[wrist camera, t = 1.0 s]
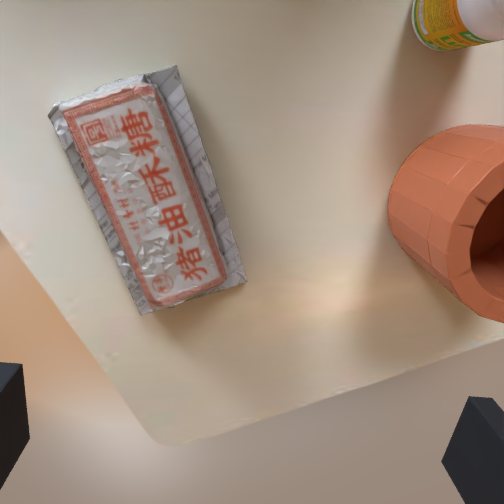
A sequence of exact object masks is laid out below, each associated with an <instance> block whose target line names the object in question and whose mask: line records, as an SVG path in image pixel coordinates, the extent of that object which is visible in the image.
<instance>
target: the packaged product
mask: <svg viewBox="0 0 504 504" xmlns="http://www.w3.org/2000/svg"><path fill="white" fill-rule="evenodd" d="M48 117H49V119H50V120H51V122H52V124H53V125H54V127H55V130H56V133H57V135H58V137H59V139H60V141H61V143H62V146H63V148H64V150H65V152H66V154H67V156H68V158H69V161H70V163H71V165H72V167H73V169H74V171H75V174H76V176H77V178H78V179H79V181H80V184H81V187H82V189H83V190H84V193H85V195H86V197H87V199H88V201H89V204H90V207H91V209H92V211H93V213H94V215H95V217H96V219H97V221H98V223H99V226H100V228H101V230H102V232H103V234H104V236H105V239H106V241H107V242H108V245H109V247H110V250H111V251H112V253H113V255H114V257H115V259H116V262H117V265H118V267H119V269H120V271H121V274H122V276H123V278H124V280H125V282H126V284H127V287H128V289H129V291H130V293H131V295H132V298H133V299H134V301H135V303H136V305H137V307H138V310H139V313H140V314H141V315H143V314H147V313H150V312H153V311H157V310H160V309H164V308H170V307H175V306H176V305H178V304H180V303H183V302H185V301H187V300H190V299H193V298H197V297H201V296H204V295H207V294H211V293H214V292H218V291H221V290H224V289H227V288H231V287H234V286H236V285H237V284H241V283H246V282H248V281H247V278H246V275H245V272H244V268H243V265H242V262H241V258H240V255H239V251H238V248H237V244H236V241H235V238H234V236H233V233H232V230H231V228H230V225H229V222H228V219H227V217H226V214H225V211H224V208H223V205H222V202H221V199H220V197H219V194H218V191H217V187H216V183H215V180H214V176H213V173H212V169H211V166H210V162H209V159H208V157H207V154H206V152H205V150H204V148H203V146H202V141H201V138H200V134H199V131H198V128H197V125H196V122H195V119H194V116H193V112H192V110H191V107H190V105H189V102H188V100H187V97H186V95H185V92H184V90H183V86H182V83H181V79H180V76H179V72H178V69H177V66H176V65H175V66H172V67H168V68H165V69H162V70H159V71H155V72H152V73H149V74H146V75H145V74H139V75H136V76H134V77H132V78H129V79H119V80H117V81H114V82H112V83H109V84H106V85H103V86H101V87H98V88H97V89H96V90H95V91H93V92H91V93H88V94H85V95H82V96H78V97H76V98H72V99H69V100H66V101H61V102H60V103H57V104H55V105H54V106H53V108H52V109H51V111H50V113H49V114H48Z"/></svg>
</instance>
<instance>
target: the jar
mask: <svg viewBox="0 0 504 504" xmlns="http://www.w3.org/2000/svg"><path fill="white" fill-rule="evenodd" d="M388 217H389V223H390V227H391V230H392V232H393V235H394V237H395V239H396V240H397V242H398V243H399V245H400V246H401V247H402V248H403V250H404V251H405V252H406V253H408V254H409V255H410V256H411V257H412V258H413V259H414V260H415V261H417V262H418V263H419V264H420V265H421V266H422V267H423V268H424V269H426V270H427V271H428V272H429V273H430V274H431V275H432V276H433V277H434V278H436V279H437V280H438V281H439V282H440V283H441V284H442V285H443V286H445V287H446V288H447V289H448V290H449V291H450V292H451V293H452V294H453V295H455V296H456V297H457V298H458V299H459V300H460V301H461V302H463V303H464V304H465V305H466V306H468V307H469V308H470V309H472V310H473V311H474V312H475V313H477V314H478V315H479V316H482V317H485V318H488V319H492V320H495V321H498V322H502V323H504V127H501V126H493V125H463V126H457V127H453V128H450V129H447V130H445V131H442V132H440V133H438V134H436V135H434V136H432V137H431V138H429V139H428V140H426V141H425V142H424V143H422V144H421V145H420V146H419V147H418V148H416V149H415V150H414V151H413V152H412V153H411V155H410V156H409V157H408V158H407V159H406V160H405V162H404V163H403V165H402V166H401V168H400V169H399V171H398V173H397V175H396V177H395V179H394V182H393V184H392V187H391V191H390V194H389V201H388Z"/></svg>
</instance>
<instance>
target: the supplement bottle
mask: <svg viewBox="0 0 504 504" xmlns="http://www.w3.org/2000/svg"><path fill="white" fill-rule="evenodd" d="M412 25H413V29H414V31H415V34H416V36H417V37H418V39H419V40H420V41H421V42H422V43H423V44H424V45H425V46H427V47H428V48H430V49H433V50H437V51H449V50H455V49H460V48H465V47H470V46H475V45H480V44H485V43H490V42H494V41H500V40H504V0H414V2H413V6H412Z"/></svg>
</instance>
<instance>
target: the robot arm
mask: <svg viewBox="0 0 504 504" xmlns="http://www.w3.org/2000/svg"><path fill="white" fill-rule="evenodd" d="M29 439H30V435H29V425H28V415H27V406H26V396H25V386H24V376H23V367H22V364H17V363H2V362H0V489H1V488H2V486H3V484H4V482H5V481H6V479H7V477H8V476H9V474H10V472H11V470H12V469H13V467H14V465H15V463H16V462H17V460H18V458H19V456H20V455H21V453H22V451H23V450H24V448H25V446H26V444H27V443H28V441H29ZM441 462H442V464H443V465H444V467H445V469H446V471H447V472H448V474H449V476H450V478H451V479H452V481H453V483H454V485H455V486H456V488H457V490H458V492H459V493H460V495H461V497H462V498H463V501H464V502H465V504H504V411H503V410H502V409H501V408H500V407H499V406H498V405H497V403H496V402H495V401H494V400H493V398H485V397H484V398H483V397H471V396H469V397H468V400H467V402H466V404H465V407H464V409H463V412H462V414H461V416H460V418H459V421H458V423H457V426H456V428H455V430H454V433H453V435H452V437H451V440H450V442H449V444H448V447H447V449H446V452H445V454H444V457H443V459H442V461H441Z"/></svg>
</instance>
